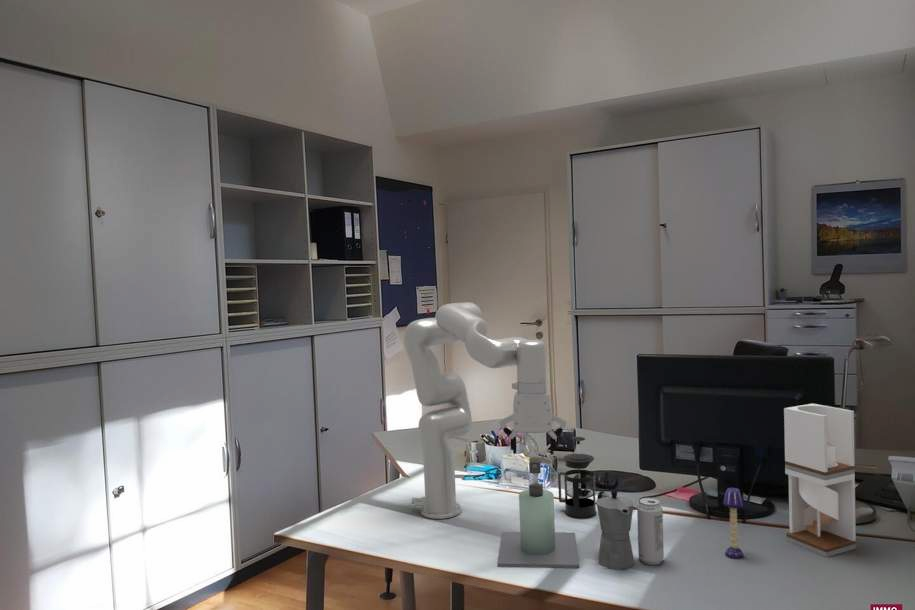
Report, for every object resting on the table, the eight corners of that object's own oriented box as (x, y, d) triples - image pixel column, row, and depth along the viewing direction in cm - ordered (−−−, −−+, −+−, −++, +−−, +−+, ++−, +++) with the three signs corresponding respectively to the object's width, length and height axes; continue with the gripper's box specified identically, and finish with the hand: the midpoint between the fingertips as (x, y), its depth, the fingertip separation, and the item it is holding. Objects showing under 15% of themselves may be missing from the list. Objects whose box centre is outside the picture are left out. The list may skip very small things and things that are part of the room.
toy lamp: (721, 551, 166) (720, 486, 165) (740, 550, 166) (738, 485, 165) (729, 559, 161) (727, 492, 161) (748, 558, 161) (746, 492, 161)
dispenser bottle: (497, 566, 163) (494, 498, 162) (502, 534, 182) (500, 473, 182) (578, 568, 160) (576, 498, 159) (574, 535, 180) (572, 473, 179)
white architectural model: (786, 540, 171) (784, 408, 169) (815, 532, 175) (812, 403, 173) (826, 557, 160) (824, 416, 159) (855, 548, 165) (853, 410, 163)
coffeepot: (646, 570, 157) (644, 496, 156) (610, 576, 155) (608, 501, 154) (617, 545, 172) (615, 478, 171) (584, 550, 170) (581, 482, 169)
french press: (602, 509, 198) (599, 435, 197) (594, 521, 190) (592, 442, 189) (564, 505, 203) (561, 432, 202) (555, 516, 195) (552, 439, 194)
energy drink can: (644, 553, 167) (643, 495, 166) (667, 559, 163) (666, 499, 162) (634, 561, 162) (632, 502, 161) (658, 567, 158) (656, 507, 158)
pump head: (529, 490, 165) (529, 466, 165) (530, 479, 173) (529, 457, 173) (541, 490, 164) (540, 466, 164) (541, 479, 173) (540, 457, 172)
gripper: (497, 390, 167) (499, 456, 168) (566, 390, 164) (567, 457, 166) (499, 385, 174) (501, 448, 175) (565, 385, 172) (566, 449, 173)
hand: (533, 452), depth 170 cm, fingers open, 9 cm apart
